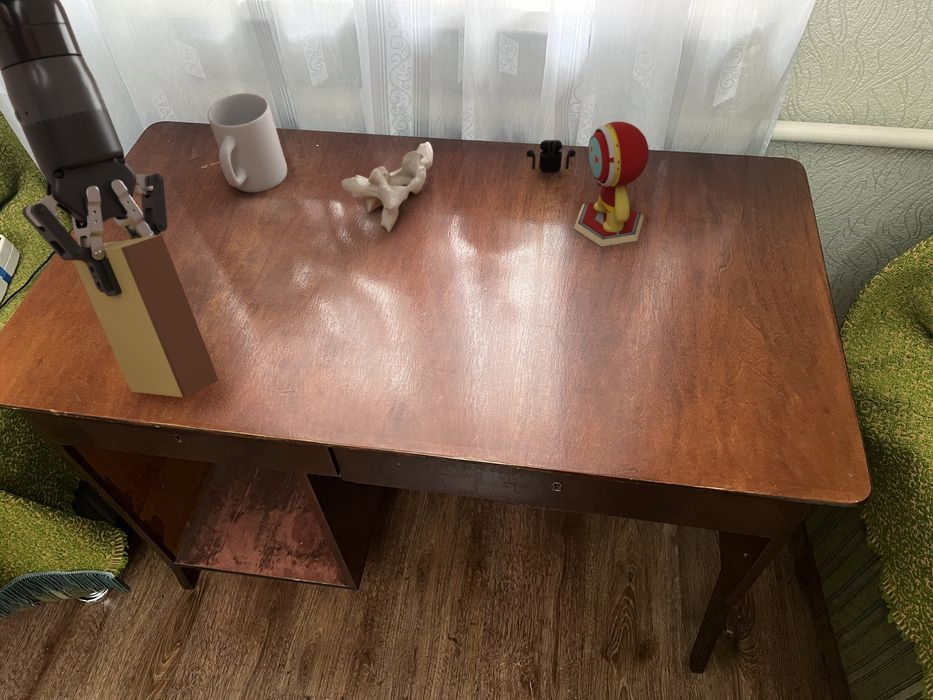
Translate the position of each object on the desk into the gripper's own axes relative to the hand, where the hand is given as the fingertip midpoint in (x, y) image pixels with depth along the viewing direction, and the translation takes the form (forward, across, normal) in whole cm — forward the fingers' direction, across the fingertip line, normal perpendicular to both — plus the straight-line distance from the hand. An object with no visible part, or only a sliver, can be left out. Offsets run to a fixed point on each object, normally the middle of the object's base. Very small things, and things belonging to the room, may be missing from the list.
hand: (135, 286), depth 71 cm
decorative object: (+2, +39, -2) cm, 39 cm away
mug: (-5, +32, +17) cm, 37 cm away
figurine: (+11, +51, -29) cm, 59 cm away
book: (+4, 0, +6) cm, 7 cm away
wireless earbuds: (+3, +57, -18) cm, 60 cm away
